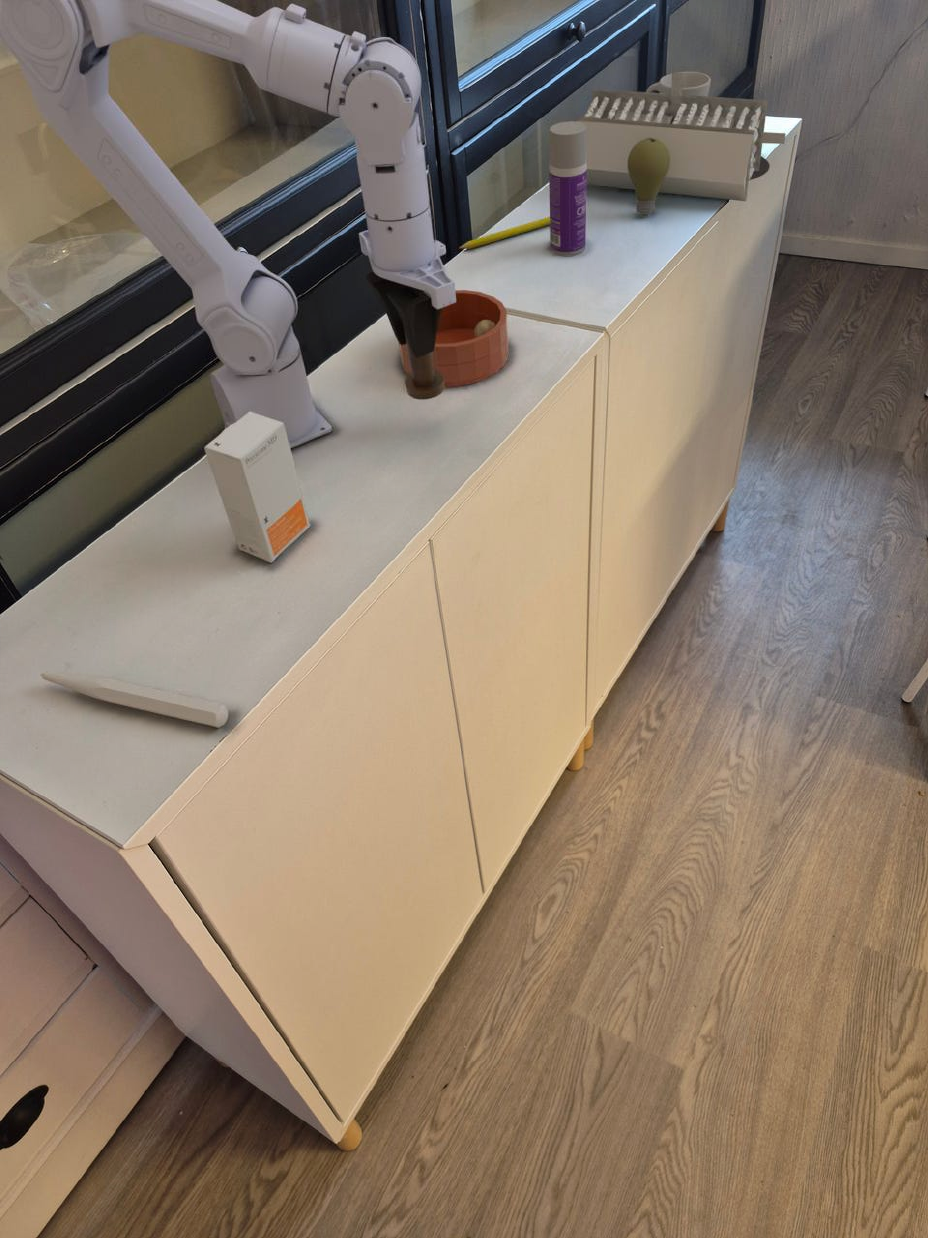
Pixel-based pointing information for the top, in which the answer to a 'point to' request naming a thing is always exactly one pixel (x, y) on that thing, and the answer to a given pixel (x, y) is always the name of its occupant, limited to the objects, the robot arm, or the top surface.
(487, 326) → the bead
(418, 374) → the pestle
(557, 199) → the container
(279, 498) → the cosmetic box
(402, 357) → the bowl
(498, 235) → the pencil
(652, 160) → the light bulb
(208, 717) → the tool
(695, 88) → the cup
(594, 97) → the miniature building
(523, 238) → the top surface
